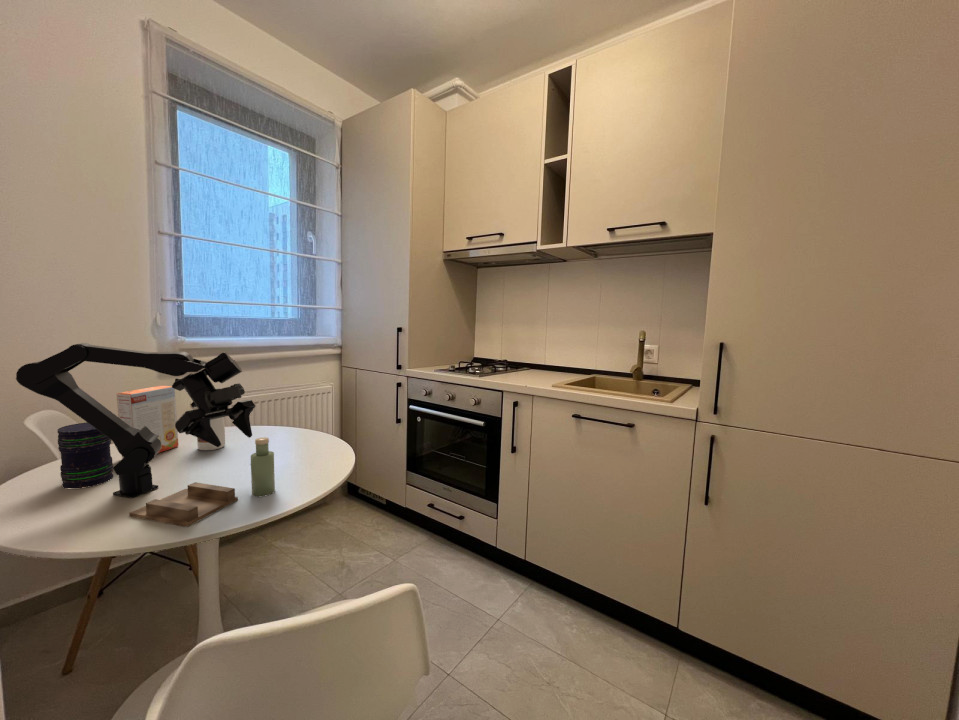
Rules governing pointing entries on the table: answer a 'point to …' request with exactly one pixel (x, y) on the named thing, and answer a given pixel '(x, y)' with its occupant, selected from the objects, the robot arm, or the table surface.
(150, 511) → the walnut U-rest
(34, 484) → the table surface
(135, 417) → the cracker box
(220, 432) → the milk bottle
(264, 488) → the olive bottle
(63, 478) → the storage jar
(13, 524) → the table surface
